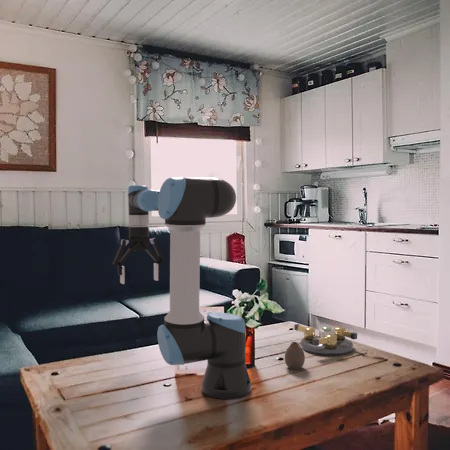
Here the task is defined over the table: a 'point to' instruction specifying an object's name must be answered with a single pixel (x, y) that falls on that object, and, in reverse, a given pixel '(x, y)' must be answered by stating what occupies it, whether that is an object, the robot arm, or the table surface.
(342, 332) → the brass elongated piece
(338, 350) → the levelling base
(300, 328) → the knob
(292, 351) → the brown egg-shaped piece
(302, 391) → the table surface
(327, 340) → the knob
